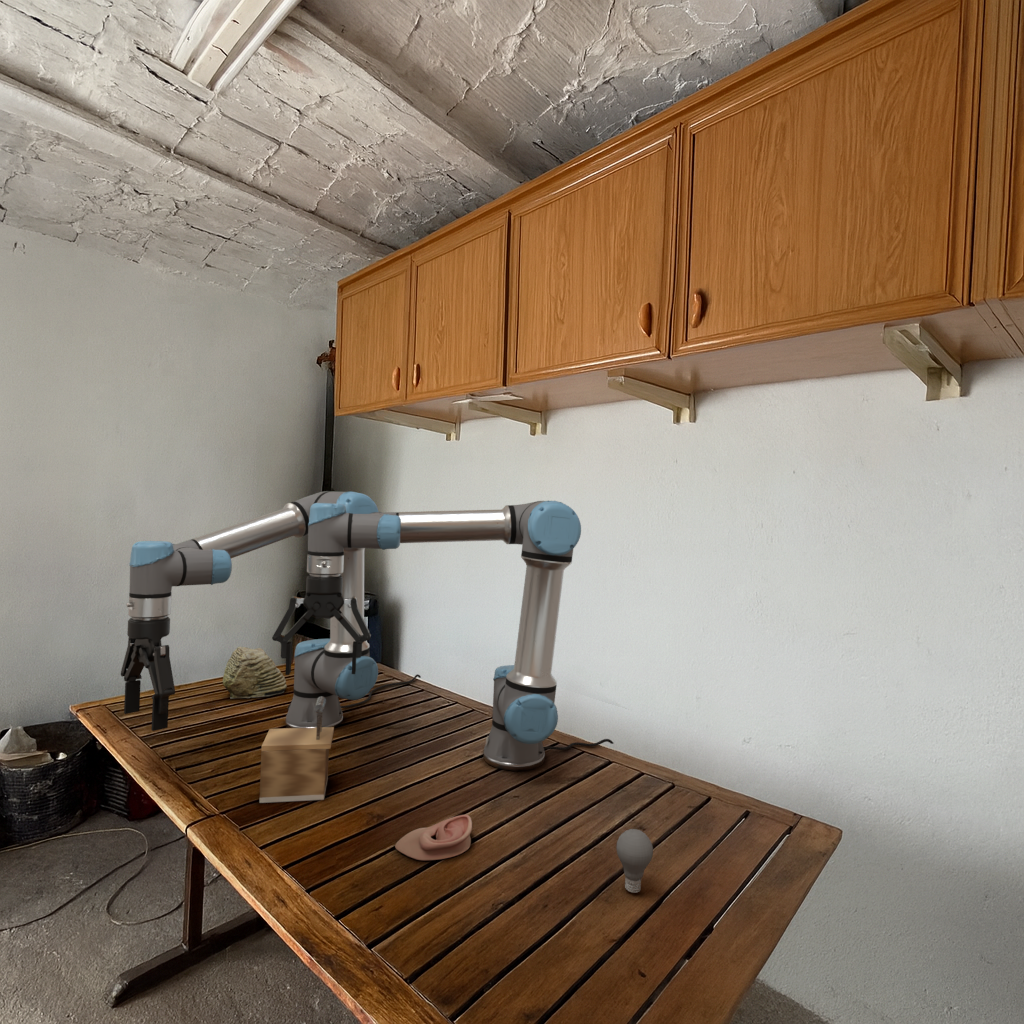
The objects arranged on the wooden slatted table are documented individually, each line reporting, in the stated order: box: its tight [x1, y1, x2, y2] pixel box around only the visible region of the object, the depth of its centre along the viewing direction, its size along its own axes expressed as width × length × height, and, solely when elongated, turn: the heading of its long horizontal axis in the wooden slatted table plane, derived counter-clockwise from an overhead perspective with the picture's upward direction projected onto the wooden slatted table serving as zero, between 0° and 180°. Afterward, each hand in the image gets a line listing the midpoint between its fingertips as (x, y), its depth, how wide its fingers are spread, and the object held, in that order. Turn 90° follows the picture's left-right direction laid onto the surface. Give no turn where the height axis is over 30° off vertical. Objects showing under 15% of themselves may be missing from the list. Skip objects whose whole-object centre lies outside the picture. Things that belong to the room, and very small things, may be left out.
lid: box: [260, 696, 335, 752], centre depth 136 cm, size 14×10×9 cm
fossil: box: [222, 646, 288, 699], centre depth 198 cm, size 9×18×15 cm, turn 132°
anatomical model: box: [394, 814, 473, 861], centre depth 117 cm, size 13×4×12 cm
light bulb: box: [615, 828, 654, 894], centre depth 106 cm, size 6×6×10 cm
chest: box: [258, 749, 330, 804], centre depth 136 cm, size 13×10×11 cm
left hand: (145, 720), depth 130 cm, fingers open, 13 cm apart
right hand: (321, 673), depth 137 cm, fingers open, 13 cm apart
